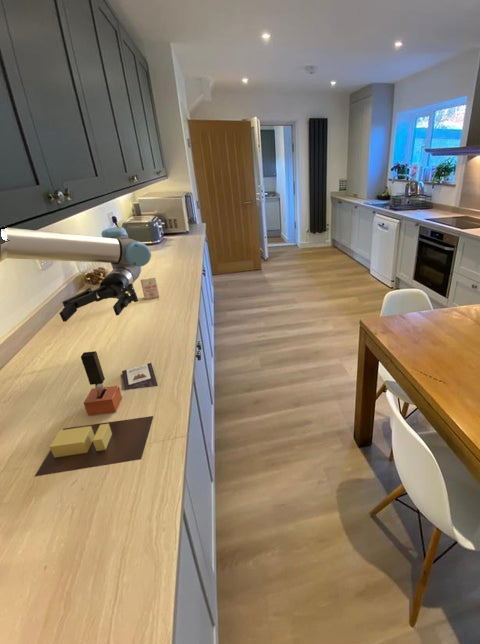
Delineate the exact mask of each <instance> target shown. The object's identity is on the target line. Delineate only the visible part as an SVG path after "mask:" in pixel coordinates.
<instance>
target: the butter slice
mask: <svg viewBox="0 0 480 644" xmlns="http://www.w3.org/2000/svg"><path fill="white" fill-rule="evenodd" d="M111 435H112V432H111V429H110V426H109V424H102V425H100V426H99V428H98V430H97V432H96V434H95V437H94V439H93V443H94V446H95V448H96V451H101V450H106V448H107V445H108V443H109V440H110V438H111Z"/></svg>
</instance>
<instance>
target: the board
mask: <svg viewBox="0 0 480 644" xmlns="http://www.w3.org/2000/svg"><path fill="white" fill-rule="evenodd" d="M153 420H154V415H151V416H149V415H148V416H142V417H135V418H127V419H121V420H113V421H107V422H100V423H93V424H86V425H78V426H72V427H65V428H62V430H67V429H74V428H81V427H88V426H91V427H92V430H93V433H94V436H95V434H96V432H97V430H98V428H99V426H100V425H102V424H109V426H110V429H111V432H112V435H111V438H110V440H109V443H108V445H107V448H106V450H101V451H96V448H95V446H94V443H93V441H92V443H91V446H90V448H89V450H88V452H87V453H81V454H75V455H68V456H62V457H55V458H54V456H53V454H52V451H51V449H49V451H48V453H47V455H46V456H45V458H44V459H43V461H42V463H41V465H40V466H39V468H38V469H37V471H36V473H35V474H34V478H35V477H41V476H48V475H53V474H59V473H67V472H71V471H78V470H83V469H89V468H96V467H101V466H108V465H114V464H120V463H126V462H133V461H140V460H142V459H143V455H144V451H145V448H146V444H147V441H148V437H149V434H150V431H151V427H152V423H153Z"/></svg>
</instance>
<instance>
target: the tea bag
mask: <svg viewBox="0 0 480 644" xmlns="http://www.w3.org/2000/svg"><path fill="white" fill-rule="evenodd" d="M140 282H141V284H140V285H141V289H142V292H143V298H144V301H146V300H151V299H152V300H153V299H157V298H160V294H159V293H160V292H159V288H158V283H157V279H156V277H151V278H143V279H140Z"/></svg>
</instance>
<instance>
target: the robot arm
mask: <svg viewBox="0 0 480 644" xmlns="http://www.w3.org/2000/svg"><path fill="white" fill-rule="evenodd" d="M1 237H2V239H3V240H5V241H8V240H10V241H8V242H5V243H4V244H1V245H0V263H1V262H2V261H4V260H6V259H15V260H16V259H17V260H37V261H38V260H39V261H56V262H57V261H59V262H81V263H82V262H83V263H101V264H102V263H103V264H105V263H106V264H111V265H110V266H111V267H112V270H111V271H110V272H109V273H108V274H106V276H104V278H103V279H102V280H101V281H100V284H99V287H98V288H95V289H93V290H92V288H90V287H88V288H86V289H85V290H83V291H81V292H80V293H77V294H75V295H73V296H72V297H69V298H67V299H65V300H62V302H61V303H62V305H63V308H62V309H61V310H60V312H58V313H59V316H60V318H61V320H62V322H64V323H65V322H68V321H69V320H70V318H71V317H72V316H73V315H74V314H75V313H76V312H77V311H78V309H80V308H82V307H84V306H87V305H89V304H91V303H94V302H101V301H103V300H107V299H117V301H116V302H115V303H114V305H112V309H113V311H114V313H115V316H120V314H121V313H122V311H123V310H124V309H125V308H127V307H128V306H129V305H130V304H132V302H134V303H138V302H139V299H138V298H139V297H138V295H137V292H136V290H135V287H134V283H135V282H136V280H137V279H138V278H139V277H140V275H141V273H142V267H144V266H146V265H148V263H149V262H150V260H151V258H152V251H151V249H150V247H149V246H147V244H145V243H144V242H141V241H138V240H135V239H134V238H133V239H132V238H130V237H129V234H128V232H127V229H126V228H125V227H121V226H119V227H117V226H115V227H110V228H109V227H108V228H106V229H103V230H102V231H101V236H96V235H95V236H94V235H84V234H73V233H65V232H57V231H56V232H54V231H47V230H46V231H45V230H38V229H37V230H35V229H26V228H16V227H7V228H5V229H1ZM7 239H8V240H7Z"/></svg>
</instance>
